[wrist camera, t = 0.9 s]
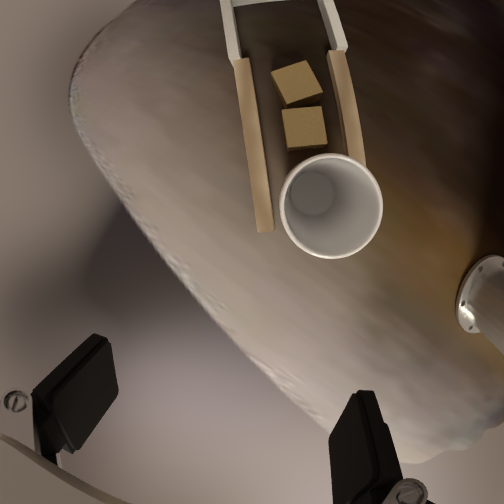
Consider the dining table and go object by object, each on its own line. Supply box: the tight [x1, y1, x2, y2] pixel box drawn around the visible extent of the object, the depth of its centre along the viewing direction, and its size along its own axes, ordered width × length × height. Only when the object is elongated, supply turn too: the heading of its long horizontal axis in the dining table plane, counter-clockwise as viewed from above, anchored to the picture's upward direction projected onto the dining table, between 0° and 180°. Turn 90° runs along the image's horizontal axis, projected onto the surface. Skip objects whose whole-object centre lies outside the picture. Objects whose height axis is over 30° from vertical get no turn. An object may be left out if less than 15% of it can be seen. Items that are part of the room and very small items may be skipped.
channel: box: [233, 50, 366, 233], centre depth 28 cm, size 13×20×2 cm, turn 8°
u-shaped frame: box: [220, 0, 348, 67], centre depth 24 cm, size 13×11×3 cm
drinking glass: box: [279, 153, 383, 259], centre depth 24 cm, size 7×7×15 cm
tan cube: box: [271, 60, 323, 109], centre depth 26 cm, size 4×4×4 cm
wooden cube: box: [282, 106, 327, 151], centre depth 27 cm, size 4×4×4 cm
